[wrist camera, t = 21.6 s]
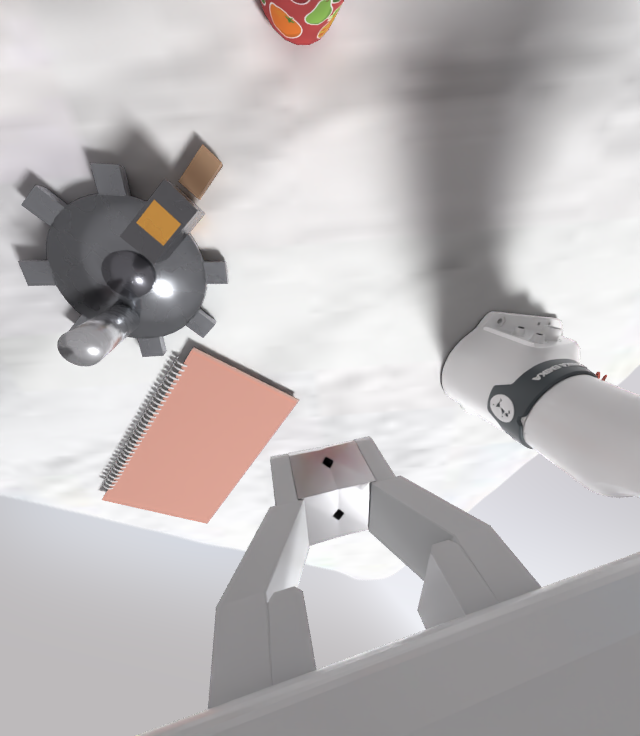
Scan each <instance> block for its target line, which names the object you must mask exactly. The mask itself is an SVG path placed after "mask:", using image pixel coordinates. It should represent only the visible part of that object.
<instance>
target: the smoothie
mask: <svg viewBox="0 0 640 736" xmlns="http://www.w3.org/2000/svg"><path fill="white" fill-rule="evenodd" d="M260 2H261V5H262V8H263V10H264V13H265V15H266V17H267V18H268V20H269V22H270V23H271V25H272V26H273V28H274V29H275V30H276V31H277V32H278V33H279V34H280V35H281V36H282V37H283V38H284V39H285V40H287V41H289V42H291V43H294V44H296V45H310V44H312V43H314V42H316V41H318V40H320V39H321V38H322V37H323V35H324V34H325V33H326V32H327V31H328V30H329V28H330V26H331V24H332V22H333V20H334V18H335V17H336V15H337V13H338V11H339V9H340V7H341V5H342V4H343V2H344V0H260Z"/></svg>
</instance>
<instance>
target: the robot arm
mask: <svg viewBox="0 0 640 736" xmlns="http://www.w3.org/2000/svg"><path fill="white" fill-rule="evenodd" d="M606 377H607V375H605V376H604V377H603V378H602V380H600V372H597V373H596V375H595V374H594V373H593V372H591V371H590V370H588V369H587V367H585V366H584V365H582V364H580V347H579V345H578V343H577V342H576V341H574V340H572V339H569V338H567V337H564V336H563V325H562V321H561V320H559V319H557V318H553V317H543V316H534V315H524V314H515V313H505V312H495V311H492V312H489V313H488V314H487V315H486V316H485V317H484V318H483V319H482V320H481V322H480V323H479V324H478V326H477V327H476V328H475V329H474V330H473V331H472V332H470V333H469V334H468V335H467V336H465V337H464V338H463V339H462V340H461V341H460V342H459V343H458V344H457V345H456V346H455V347H454V349H453V350H452V351H451V353H450V354H449V356H448V358H447V360H446V362H445V365H444V368H443V372H442V386H443V389H444V391H445V393H446V395H447V396H448V397H449V398H450V399H452V400H454V401H456V402H458V403H459V404H460V405H461V407H462V409H463V410H464V411H465V412H466V413H468V414H470V415H472V414H476V415H477V416H479V417H480V418H482V419H483V420H485V421H486V422H488V423H490V424H491V425H493V426H494V427H496V428H498V429H499V430H501V431H505V432H506V433H507V434H509V435H510V436H511V437H512V438H513V439H514V440H516V441H517V442H519V443H521V444H522V445H524V446H525V447H527V448H530V449H534V450H536V451H537V452H538V453H540V454H541V455H542V456H544V457H545V458H546V459H548V460H549V461H551V462H552V463H553V464H555V465H556V466H557V467H559V468H560V469H561V470H563V471H564V472H565V473H567V474H568V475H569V476H571V477H572V478H573V479H575V480H576V481H577V482H579V483H580V484H581V485H583V486H584V487H585V488H587V489H588V490H590V491H592V492H594V493H597V494H600V495H603V496H608V497H633V496H635V497H638V498H640V395H638V394H636V393H633V392H631V391H628V390H625V389H623V388H620V387H618V386H615V385H613V384H610V383H608V382H605V379H606ZM270 462H271V471H272V480H273V488H274V497H275V506H273V507H270V508H269V510H268V512H267V513H266V515H265V517H264V519H263V521H262V523H261V525H260V526H259V528H258V530H257V532H256V534H255V536H254V538H253V539H252V541H251V543H250V545H249V547H248V549H247V551H246V553H245V555H244V556H243V558H242V560H241V562H240V564H239V566H238V567H237V569H236V571H235V573H234V575H233V577H232V579H231V581H230V583H229V584H228V586H227V588H226V590H225V592H224V593H223V595H222V597H221V599H220V601H219V603H218V605H217V606H216V615H215V627H214V640H213V652H212V665H211V678H210V691H209V703H208V709H207V710H205V711H202V712H199V713H196V714H194V715H191V716H188V717H185V718H183V719H180V720H177V721H175V722H172V723H169V724H167V725H163V726H161V727H158V728H155V729H153V730H150V731H147V732H144V733H141V734H139V735H136V736H640V552H638V553H635V554H632V555H629V556H627V557H624V558H621V559H619V560H616V561H613V562H610V563H608V564H605V565H602V566H599V567H597V568H594V569H591V570H588V571H586V572H583V573H580V574H577V575H575V576H572V577H569V578H566V579H564V580H561V581H558V582H556V583H553V584H550V585H547V586H544V587H541V586H540V585H539V583H538V582H537V581H536V580H535V579H534V578H533V576H532V575H531V574H530V573H529V572H528V570H527V569H526V568H525V567H524V566H523V564H522V563H521V562H520V561H519V560H518V558H517V557H516V556H515V555H514V554H513V552H512V551H511V550H510V549H509V548H508V546H507V545H506V544H505V543H504V542H503V540H502V539H501V538H500V537H499V536H498V534H497V533H496V532H495V531H494V530H493V529H492V527H491V526H490V525H488V524H486V523H484V522H483V521H481V520H479V519H477V518H475V517H474V516H472V515H470V514H468V513H467V512H465V511H463V510H461V509H459V508H458V507H456V506H454V505H452V504H450V503H449V502H447V501H445V500H443V499H442V498H440V497H438V496H436V495H434V494H433V493H431V492H429V491H427V490H426V489H424V488H422V487H420V486H418V485H417V484H415V483H413V482H411V481H409V480H408V479H406V478H404V477H402V476H397V477H396V476H395V475H394V473H393V471H392V470H391V468H390V467H389V465H388V463H387V462H386V460H385V459H384V457H383V455H382V454H381V452H380V451H379V449H378V448H377V446H376V444H375V443H374V441H373V440H372V438H371V437H369V436H368V437H363V438H359V439H354V440H351V441H346V442H341V443H337V444H332V445H328V446H323V447H319V448H313V449H308V450H302V451H297V452H291V453H288V454H283V455H277V456H272V457H271V459H270ZM364 530H369V532H370V533H372V534H373V535H374V536H375V537H376V538H377V539H378V540H379V541H380V542H381V543H383V544H384V545H385V546H386V547H387V548H388V549H389V550H390V551H391V552H393V553H394V554H395V555H396V556H397V557H398V558H399V559H400V560H401V561H402V562H404V563H405V564H406V565H407V566H408V567H409V568H410V569H411V570H412V571H413V572H415V573H416V574H417V575H418V576H419V577H420V578H421V579H422V580H423V581H424V584H423V588H422V593H421V597H420V602H419V606H418V612H419V615H420V617H421V619H422V622H423V624H424V626H425V628H426V630H424V631H421V632H418V633H416V634H413V635H410V636H407V637H405V638H402V639H399V640H397V641H394V642H391V643H388V644H385V645H383V646H380V647H377V648H374V649H372V650H369V651H366V652H364V653H361V654H358V655H356V656H352V657H350V658H347V659H344V660H341V661H339V662H336V663H333V664H331V665H328V666H325V667H322V668H320V669H317V670H316V665H315V659H314V654H313V647H312V641H311V636H310V630H309V624H308V619H307V613H306V607H305V601H304V596H303V591H302V590H300V589H298V585H299V582H300V578H301V575H302V572H303V568H304V565H305V561H306V558H307V555H308V551H309V546H310V545H314V544H317V543H320V542H323V541H327V540H330V539H333V538H336V537H340V536H344V535H348V534H352V533H356V532H360V531H364Z"/></svg>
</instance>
